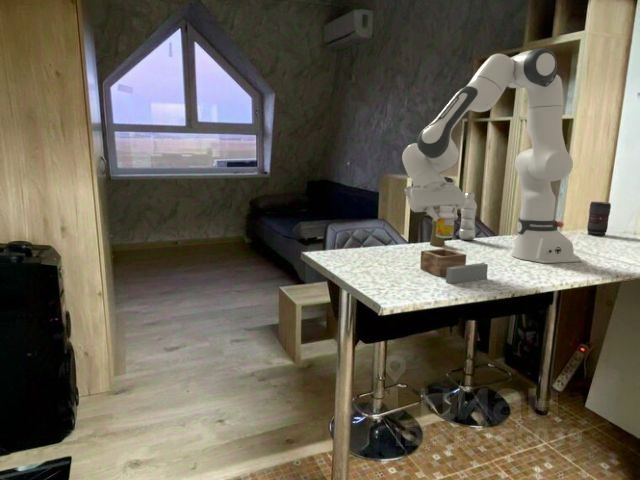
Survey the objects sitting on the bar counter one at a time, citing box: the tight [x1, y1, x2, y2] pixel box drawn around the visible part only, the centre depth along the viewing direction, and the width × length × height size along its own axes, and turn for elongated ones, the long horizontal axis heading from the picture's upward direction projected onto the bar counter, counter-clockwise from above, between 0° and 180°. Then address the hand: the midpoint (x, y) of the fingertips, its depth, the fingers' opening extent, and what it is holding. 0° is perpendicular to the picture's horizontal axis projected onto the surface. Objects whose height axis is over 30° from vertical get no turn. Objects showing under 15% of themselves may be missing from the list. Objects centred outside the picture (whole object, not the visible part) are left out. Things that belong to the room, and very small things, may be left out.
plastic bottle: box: [458, 192, 478, 241], centre depth 198 cm, size 6×7×20 cm
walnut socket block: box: [419, 247, 467, 277], centre depth 151 cm, size 10×10×6 cm
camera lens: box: [586, 201, 612, 237], centre depth 211 cm, size 8×8×15 cm
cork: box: [429, 218, 446, 247], centre depth 189 cm, size 6×6×11 cm
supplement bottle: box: [436, 206, 455, 239], centre depth 148 cm, size 5×5×10 cm
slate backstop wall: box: [445, 262, 489, 285], centre depth 141 cm, size 2×14×4 cm, turn 115°
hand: (446, 219), depth 147 cm, fingers closed on supplement bottle, 5 cm apart
